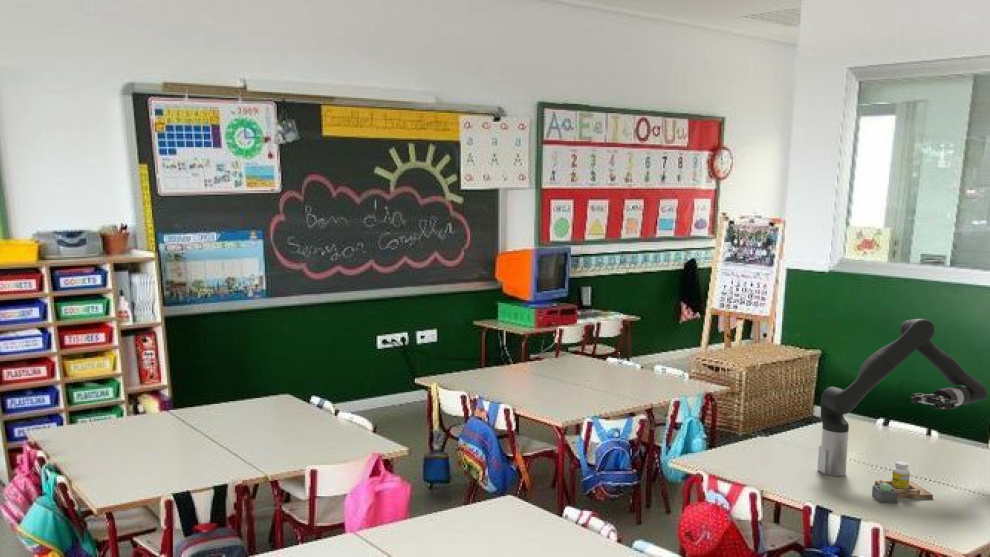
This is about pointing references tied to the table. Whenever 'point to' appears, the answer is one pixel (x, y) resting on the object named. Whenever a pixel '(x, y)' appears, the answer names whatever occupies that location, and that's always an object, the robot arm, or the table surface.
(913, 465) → the table surface
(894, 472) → the supplement bottle
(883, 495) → the button box
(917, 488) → the pallet board
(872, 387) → the robot arm
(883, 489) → the button
